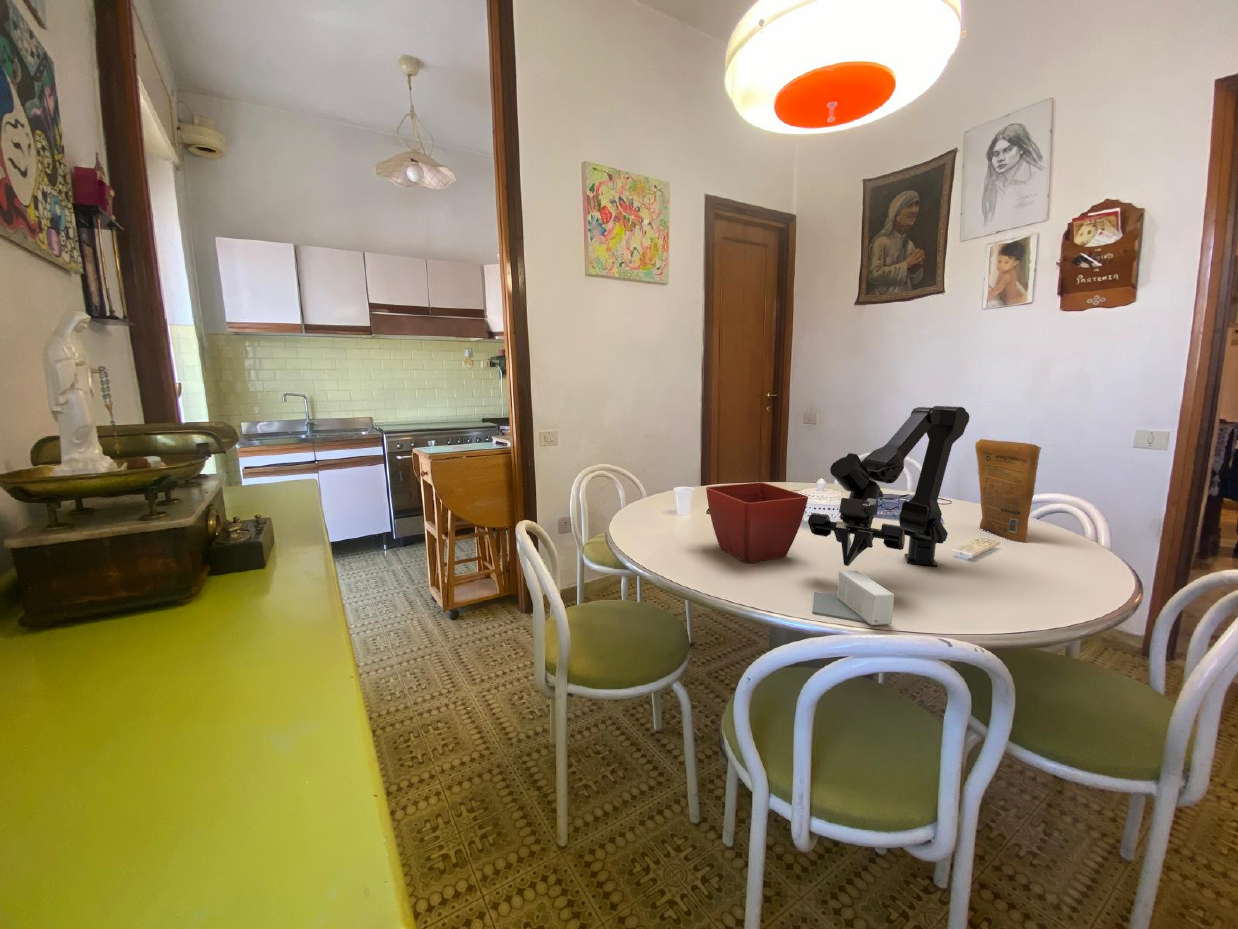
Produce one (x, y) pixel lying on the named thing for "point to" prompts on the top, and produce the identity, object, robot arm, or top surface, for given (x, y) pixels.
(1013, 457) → the pancake mix bag
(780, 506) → the plant pot
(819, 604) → the mat
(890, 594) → the skincare box
